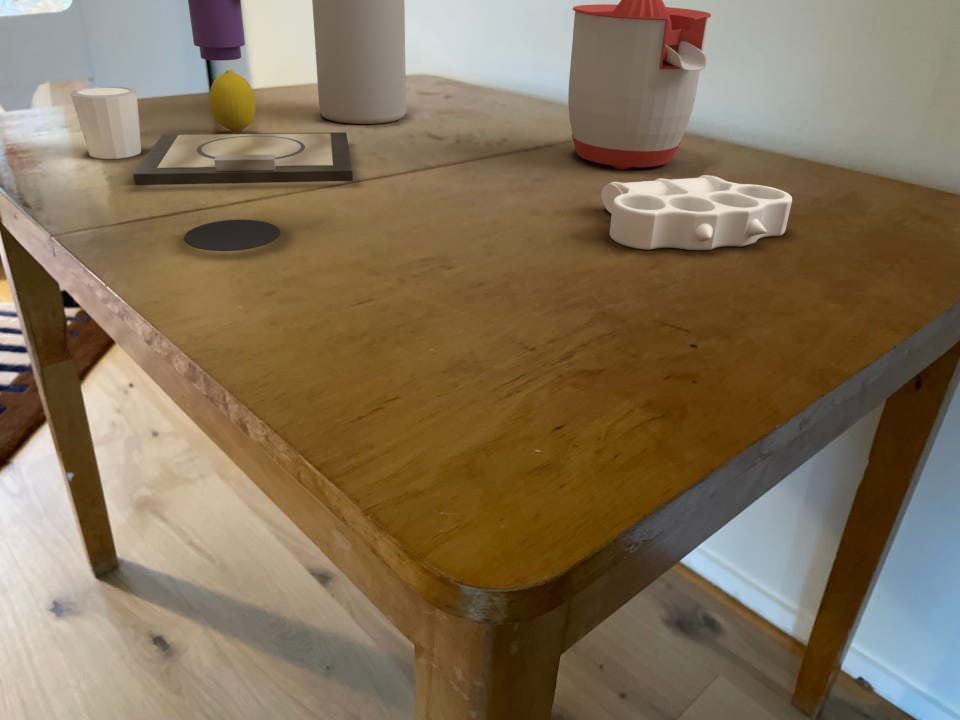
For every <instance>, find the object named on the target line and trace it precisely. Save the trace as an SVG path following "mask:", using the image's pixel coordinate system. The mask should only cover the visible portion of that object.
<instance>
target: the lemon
mask: <svg viewBox="0 0 960 720" xmlns="http://www.w3.org/2000/svg"><path fill="white" fill-rule="evenodd" d="M209 104H210V109H211V112H212V115H213V117H214V119H215V121H216V122H217V123H218V124H219V125H220V126H221V127H223V128H225V129H227V130H229V131H230V132H231V133H242V131H243V130H244V129H246V128H248V127H249V126H250V125H251V123H253V120H254V118H255V115H256V99H255V95H254V91H253V88H252V86H251V84H250V82H249V81H248V80H246V78H244V76H242V75H240V74H238V73H236V72H235V71H233V69H227V70H225V72H224V73H222V74H220V75H218V76H217V77H216V78H215V79H214V80H213V82H212V84H211V87H210V93H209Z"/></svg>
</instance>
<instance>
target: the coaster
mask: <svg viewBox="0 0 960 720" xmlns="http://www.w3.org/2000/svg"><path fill="white" fill-rule="evenodd" d="M280 236H281V230H280V228H279V227H277V226H276V225H274V224H272V223H270V222H267V221H261V220H256V219H226V220H217V221H212V222H208V223H205V224H204V223H203V224H201V225H198V226H195V227H193V228H191V229H190V230H189V231H187V232H186V233H185V235H184V238H183V239H184V242H185V244H187V245H189V246H190V247H193V248H195V249H199V250H203V251H205V250H206V251H211V252H212V251H213V252H236V251H245V250H251V249H256V248H260V247H263V246H266V245H269V244H270V243H273V242H275V241H276V240H278V239H279V237H280Z"/></svg>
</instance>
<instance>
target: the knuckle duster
mask: <svg viewBox="0 0 960 720" xmlns="http://www.w3.org/2000/svg"><path fill="white" fill-rule="evenodd" d="M600 193H601V194H600V195H601V201H602V204H603V206H604V208H605V209H606V211H608V212H609V214H611V215H610V216H611V218H610V224H609V225H610V226H609V236H610V239H611V240H613V242H615V243H617V244H619V245H621V246H625V247H627V248H632V249H637V250H644V251H650V250H654V249H664V248H665V249H667V248H670V249H680V250H688V251H712V250H714V249H716V248H722V247H740V248H741V247H745V246H748V245H749V246H750V245H753V244H756V243H757V241H758V240H760V239H763V238H766V237H767V238H769V237H781V236H783V235H784V234H785V232H786V230H787V225H788V221H789V217H790V212H791V209H792V208H791V207H792V204H793V197H792V195H791V194H790V193H788V192H786V191H784V190H781V189H779V188H777V187H772V186H767V185H760V184H752V183H737V182H733V181H727V180H725V179H723V178H720V177H719V176H715V175H709V174H703V175H700V176H698V177H691V178H690V177H688V178H687V177H686V178H674V179H673V178H672V179H669V178H661V177H660V178H656V179H655V180H644V181H632V182H631V181H630V182H629V181H628V182H621V181H611V182H610V183H607V184H605V185H603V187H602V188H601V191H600Z"/></svg>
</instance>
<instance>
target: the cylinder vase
mask: <svg viewBox="0 0 960 720" xmlns="http://www.w3.org/2000/svg"><path fill="white" fill-rule="evenodd" d="M311 3H312V4H311V5H312V19H313V33H314V48H315V49H314V50H315V65H316V77H317V93H318V109H319V113H320V115H321V116H322V117H323V118H324V119H326V120H328V121H332V122H335V123H341V124H350V125H378V124H379V125H380V124H385V123H391V122H392V123H393V122H396V121H398V120H401V119H402V118H404V117H405V115H406V113H407V85H406V84H407V83H406V82H407V81H406V80H407V79H406V78H407V77H406V76H407V75H406V26H405V25H406V17H405V16H406V12H405V11H406V9H405V7H406V6H405V0H311Z"/></svg>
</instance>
